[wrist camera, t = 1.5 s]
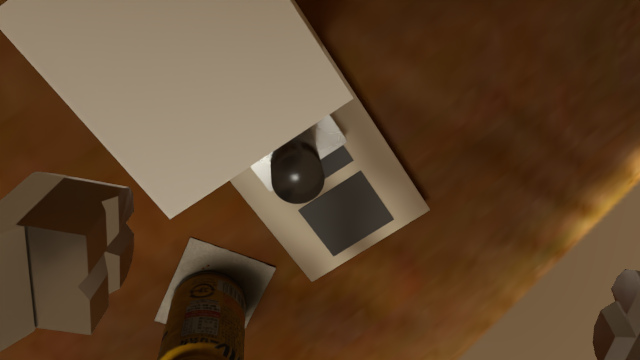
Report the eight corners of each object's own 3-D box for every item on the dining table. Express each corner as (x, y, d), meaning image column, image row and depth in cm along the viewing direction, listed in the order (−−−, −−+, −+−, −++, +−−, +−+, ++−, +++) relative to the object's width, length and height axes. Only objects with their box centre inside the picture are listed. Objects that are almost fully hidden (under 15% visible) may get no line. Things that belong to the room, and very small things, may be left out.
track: (310, 271, 48) (312, 282, 46) (-114, -256, 31) (-132, -265, 30) (424, 201, 46) (430, 210, 45) (41, -392, 30) (29, -409, 28)
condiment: (154, 319, 48) (124, 434, 37) (190, 236, 45) (169, 334, 34) (236, 344, 50) (230, 460, 39) (276, 266, 47) (281, 368, 36)
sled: (269, 186, 42) (272, 232, 36) (26, -127, 33) (-29, -140, 26) (345, 136, 41) (361, 175, 35) (117, -199, 32) (82, -231, 26)
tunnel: (194, 137, 40) (170, 219, 29) (73, -13, 36) (-13, 15, 24) (325, 48, 39) (353, 98, 27) (216, -120, 34) (196, -144, 23)
